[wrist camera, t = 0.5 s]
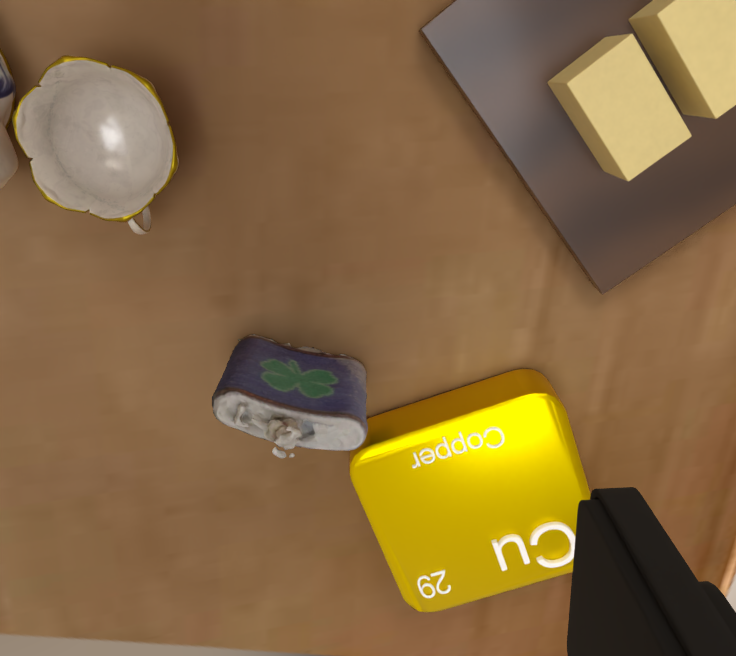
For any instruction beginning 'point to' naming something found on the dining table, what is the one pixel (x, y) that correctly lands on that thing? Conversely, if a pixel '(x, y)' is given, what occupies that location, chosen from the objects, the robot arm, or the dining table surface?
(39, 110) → the chinaware
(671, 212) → the cutting board
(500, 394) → the element tile
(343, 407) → the flask
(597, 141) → the butter slice
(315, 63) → the dining table surface
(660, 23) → the butter
